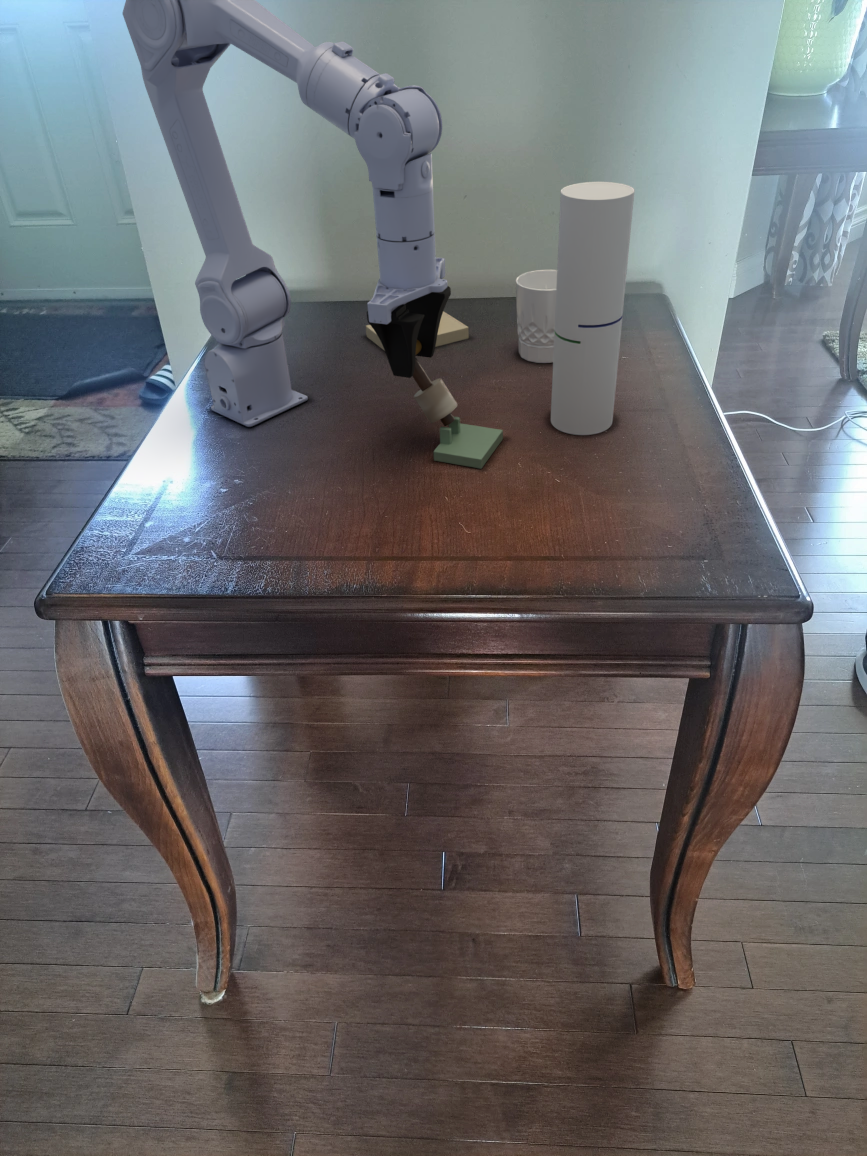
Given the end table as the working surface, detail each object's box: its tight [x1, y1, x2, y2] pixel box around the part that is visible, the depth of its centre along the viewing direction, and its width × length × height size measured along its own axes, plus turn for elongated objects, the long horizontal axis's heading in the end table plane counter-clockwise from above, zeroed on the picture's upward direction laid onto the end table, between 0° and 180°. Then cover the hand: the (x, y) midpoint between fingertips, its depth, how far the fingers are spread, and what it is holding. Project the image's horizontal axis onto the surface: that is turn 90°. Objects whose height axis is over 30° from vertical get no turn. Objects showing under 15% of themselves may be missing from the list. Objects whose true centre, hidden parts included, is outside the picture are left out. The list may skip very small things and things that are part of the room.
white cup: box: [515, 269, 557, 364], centre depth 109 cm, size 8×8×10 cm
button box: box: [365, 310, 470, 352], centre depth 118 cm, size 12×9×4 cm
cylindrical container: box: [550, 181, 635, 436], centre depth 89 cm, size 7×7×25 cm
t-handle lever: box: [412, 340, 458, 427], centre depth 90 cm, size 10×5×4 cm
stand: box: [433, 415, 504, 470], centre depth 92 cm, size 6×7×3 cm
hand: (413, 365), depth 89 cm, fingers closed on t-handle lever, 5 cm apart
